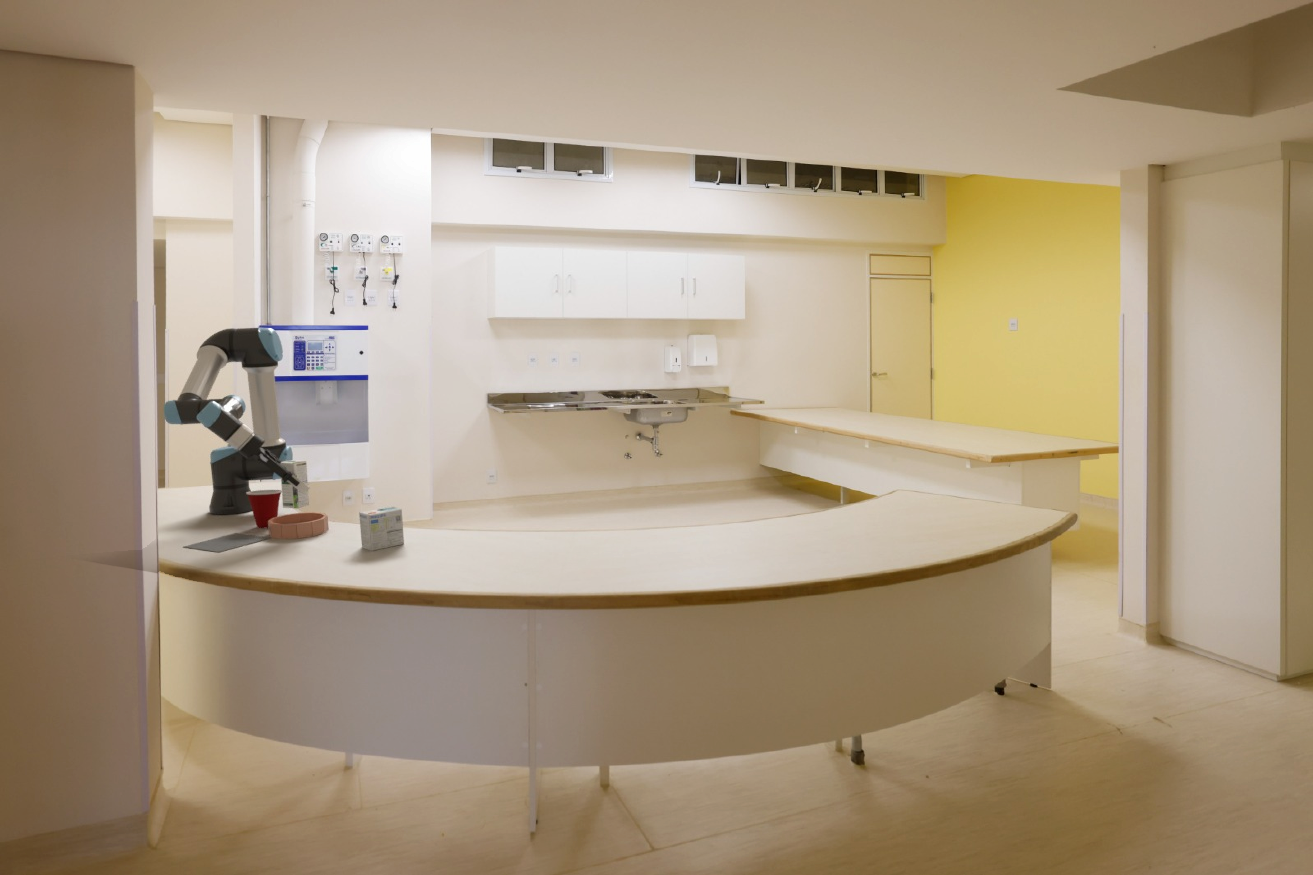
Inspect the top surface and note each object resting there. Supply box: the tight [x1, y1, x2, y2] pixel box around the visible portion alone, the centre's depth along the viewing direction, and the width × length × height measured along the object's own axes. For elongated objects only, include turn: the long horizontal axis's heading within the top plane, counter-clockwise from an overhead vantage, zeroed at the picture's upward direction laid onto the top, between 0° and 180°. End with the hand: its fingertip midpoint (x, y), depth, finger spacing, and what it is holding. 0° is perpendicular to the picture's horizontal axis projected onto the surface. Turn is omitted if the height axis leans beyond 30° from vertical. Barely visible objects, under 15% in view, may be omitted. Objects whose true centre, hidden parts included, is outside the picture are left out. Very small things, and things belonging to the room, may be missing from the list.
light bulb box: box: [358, 506, 405, 552], centre depth 254 cm, size 11×7×11 cm, turn 134°
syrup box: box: [280, 459, 310, 510], centre depth 271 cm, size 6×6×14 cm
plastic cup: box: [246, 489, 282, 529], centre depth 282 cm, size 11×11×12 cm
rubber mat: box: [183, 532, 272, 553], centre depth 262 cm, size 18×16×1 cm
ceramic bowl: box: [267, 511, 330, 540], centre depth 273 cm, size 17×17×4 cm
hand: (306, 488), depth 272 cm, fingers closed on syrup box, 8 cm apart
